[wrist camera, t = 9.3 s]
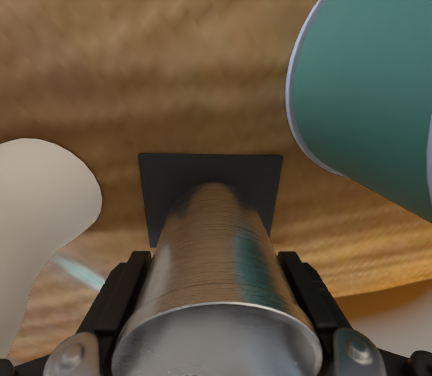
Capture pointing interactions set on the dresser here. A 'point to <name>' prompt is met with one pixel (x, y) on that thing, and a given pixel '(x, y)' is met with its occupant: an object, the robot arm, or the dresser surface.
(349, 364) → the robot arm
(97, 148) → the dresser surface
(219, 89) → the dresser surface
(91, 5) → the dresser surface
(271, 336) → the metal can
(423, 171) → the green canister
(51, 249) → the cup
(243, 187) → the mat
